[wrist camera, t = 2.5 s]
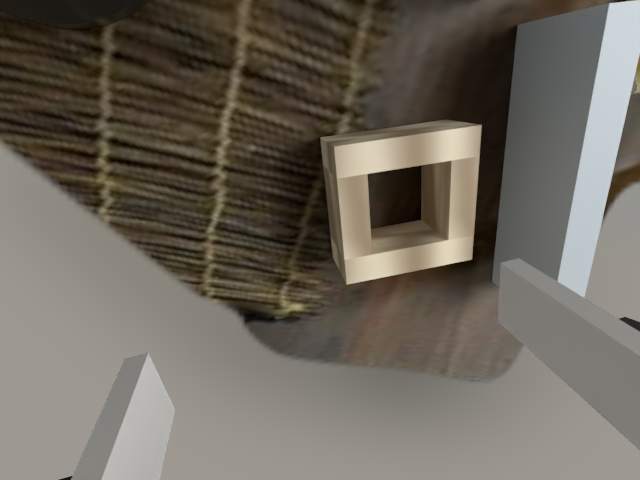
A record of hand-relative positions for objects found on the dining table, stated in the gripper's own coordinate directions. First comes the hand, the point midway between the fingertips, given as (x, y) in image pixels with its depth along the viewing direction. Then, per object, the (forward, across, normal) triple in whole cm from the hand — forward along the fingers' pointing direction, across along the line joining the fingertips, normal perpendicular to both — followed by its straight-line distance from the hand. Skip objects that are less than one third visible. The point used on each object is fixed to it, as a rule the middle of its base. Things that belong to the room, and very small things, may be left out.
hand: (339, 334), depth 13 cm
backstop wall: (+19, +22, -2) cm, 29 cm away
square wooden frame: (+19, +9, -2) cm, 21 cm away
